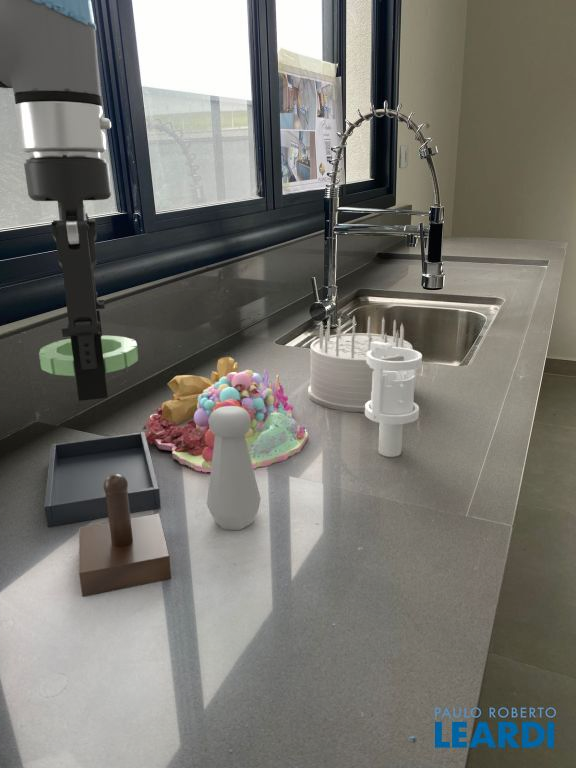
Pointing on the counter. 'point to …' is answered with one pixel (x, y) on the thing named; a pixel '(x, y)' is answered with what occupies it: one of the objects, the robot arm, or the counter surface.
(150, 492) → the tray
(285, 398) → the multicoloured round lumpy mound
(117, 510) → the stand
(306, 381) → the counter surface
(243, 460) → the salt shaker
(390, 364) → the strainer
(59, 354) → the ring
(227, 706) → the counter surface
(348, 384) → the cake
